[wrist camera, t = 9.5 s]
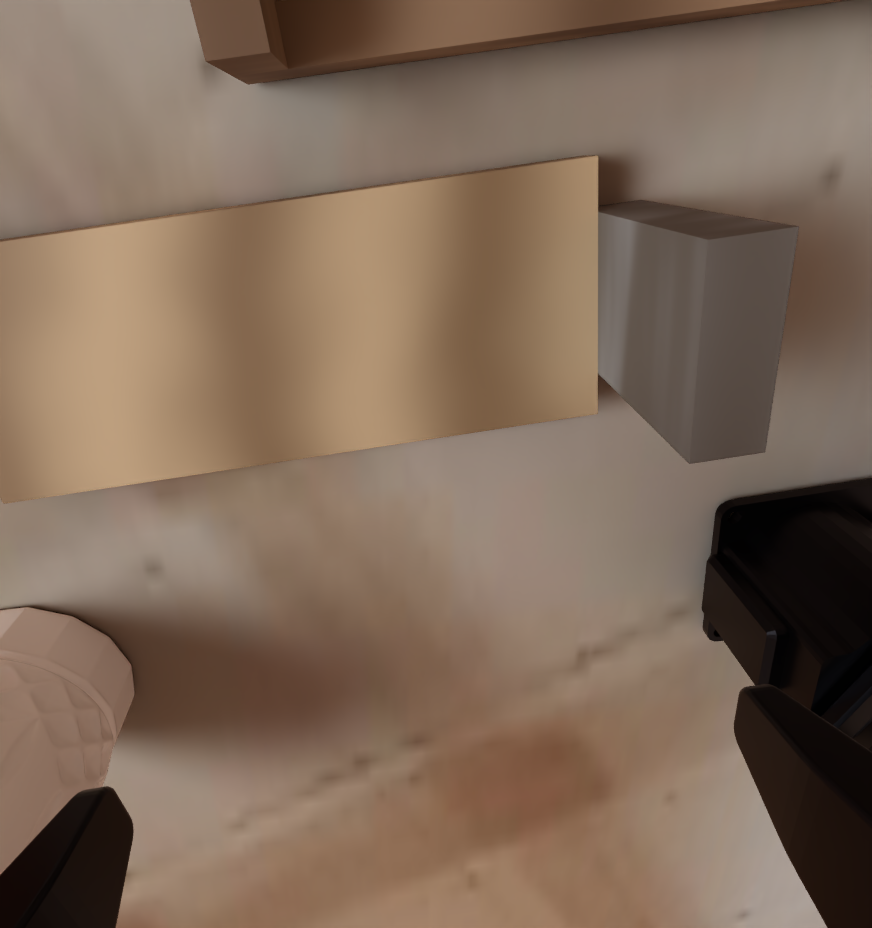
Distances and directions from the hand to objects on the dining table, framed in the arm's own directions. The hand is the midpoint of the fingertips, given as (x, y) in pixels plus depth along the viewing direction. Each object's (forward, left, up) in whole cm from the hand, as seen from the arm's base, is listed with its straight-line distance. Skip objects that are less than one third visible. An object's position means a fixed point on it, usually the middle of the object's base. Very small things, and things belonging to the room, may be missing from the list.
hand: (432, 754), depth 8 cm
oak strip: (+3, -3, -12) cm, 13 cm away
